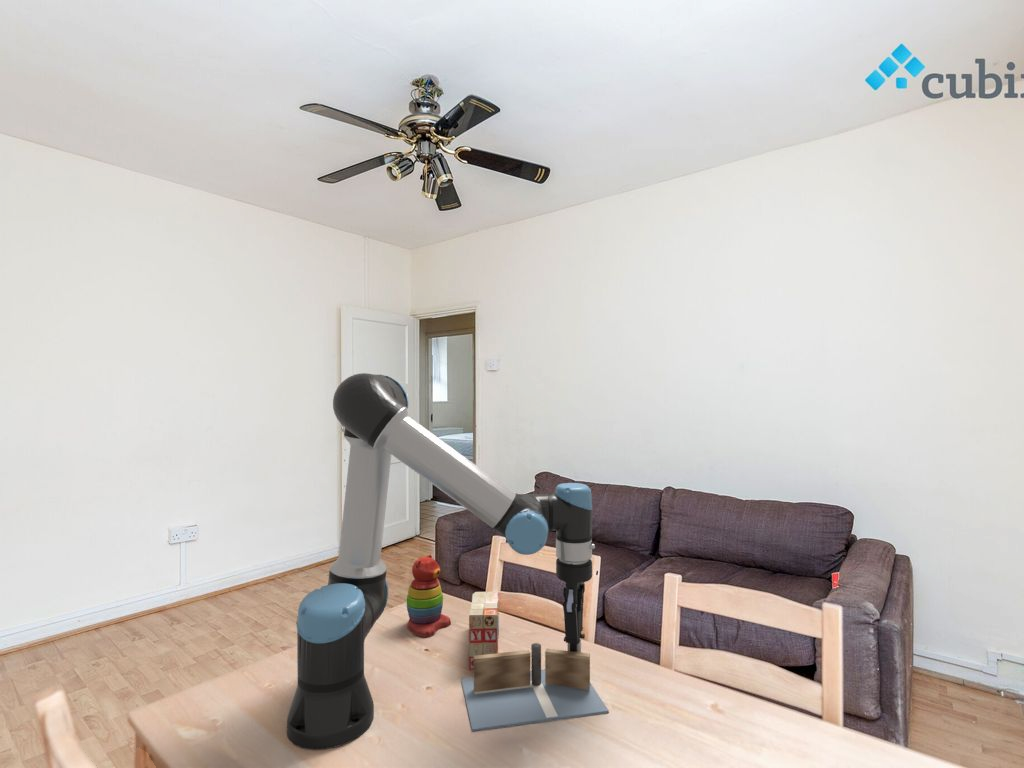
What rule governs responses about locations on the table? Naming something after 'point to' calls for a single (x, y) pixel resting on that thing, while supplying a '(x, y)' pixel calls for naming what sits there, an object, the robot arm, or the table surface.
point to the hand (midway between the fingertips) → (574, 670)
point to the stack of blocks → (483, 625)
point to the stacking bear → (425, 599)
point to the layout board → (528, 704)
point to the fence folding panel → (567, 668)
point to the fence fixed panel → (507, 669)
